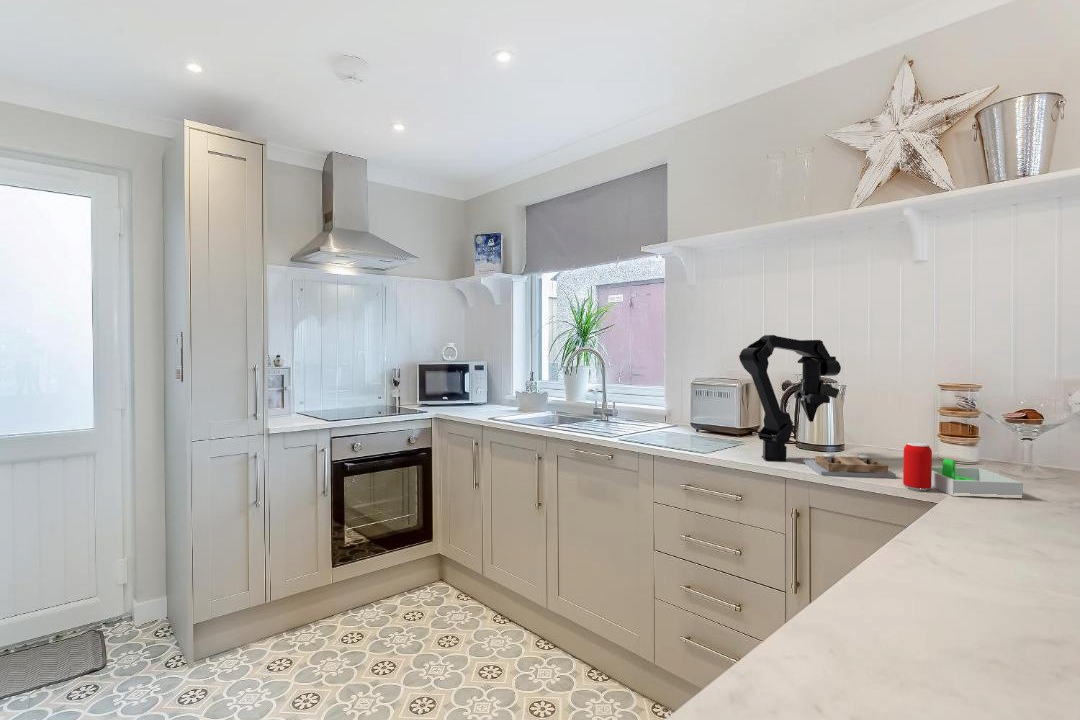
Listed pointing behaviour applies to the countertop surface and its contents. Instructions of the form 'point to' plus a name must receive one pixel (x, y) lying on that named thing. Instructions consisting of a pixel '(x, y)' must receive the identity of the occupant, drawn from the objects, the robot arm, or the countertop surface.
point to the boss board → (825, 472)
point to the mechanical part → (951, 470)
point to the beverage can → (917, 466)
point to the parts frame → (975, 482)
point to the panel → (851, 464)
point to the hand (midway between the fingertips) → (811, 421)
